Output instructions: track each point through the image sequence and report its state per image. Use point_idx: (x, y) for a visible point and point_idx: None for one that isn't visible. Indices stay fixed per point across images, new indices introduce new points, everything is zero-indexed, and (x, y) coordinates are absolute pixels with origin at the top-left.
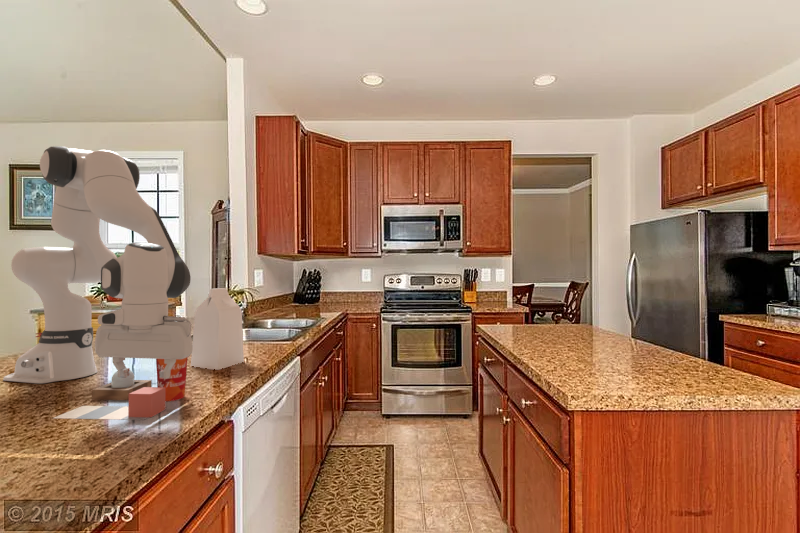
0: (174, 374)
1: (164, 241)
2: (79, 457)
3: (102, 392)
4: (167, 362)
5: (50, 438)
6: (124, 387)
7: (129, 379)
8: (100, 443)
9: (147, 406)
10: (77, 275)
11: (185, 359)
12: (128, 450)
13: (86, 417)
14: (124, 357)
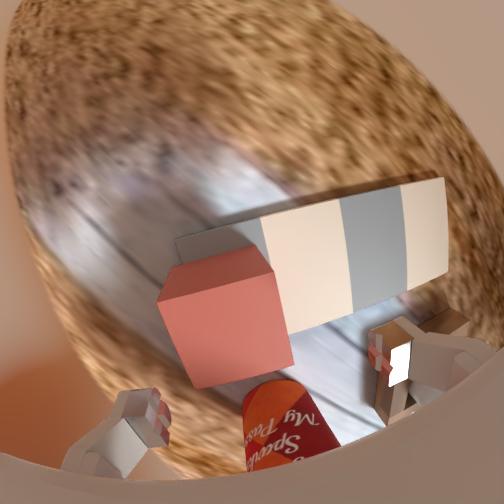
0: (257, 462)
1: None
2: (137, 15)
3: (447, 328)
4: (80, 458)
5: (336, 69)
6: None
7: (423, 393)
8: (158, 73)
9: (180, 276)
10: None
11: None
12: (56, 83)
13: (380, 201)
14: (435, 399)
